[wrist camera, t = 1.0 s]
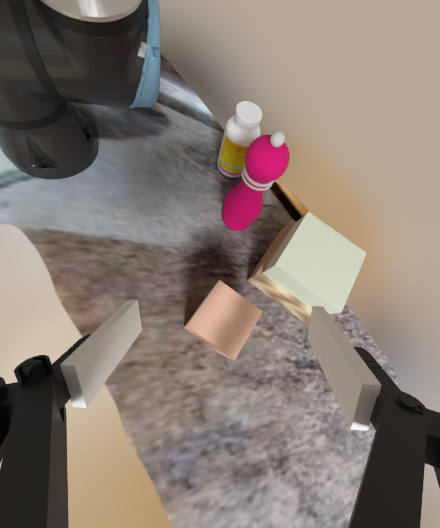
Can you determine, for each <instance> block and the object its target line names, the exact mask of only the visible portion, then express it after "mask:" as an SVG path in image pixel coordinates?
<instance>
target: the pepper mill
mask: <svg viewBox="0 0 440 528" xmlns="http://www.w3.org/2000/svg"><path fill="white" fill-rule="evenodd" d="M284 140H285V135H284V133H283V132H282V131H275V132H273V134H272V135H263V136H260V137H258V138H256V139H255V140H254V141H253V142H252V143H251V144H250V145H249V147H248V149H247V151H246V155H245V166H244V168H243V170H242V178H243V179H242V181H241V182H240V183H239V184H237V185H236V186H234V187H233V188H232V189H231V190H230V191H229V192H228V193H227V195H226V197H225V199H224V204H223V207H224V209H223V212H222V219H223V222H224V223H225V225H226V226H227V227H229V228H230V229H232V230H236V231H241V230H244V229H246V228H247V227H248V226H249V225H250V223H251V222H253V221H255V220H256V219H257V218H258V216H259V214H260V212H261V210H262V204H263V199H262V194H263V192H264V190H267V189H269V188H270V187H271V186H272V184H273V182H274V181H275V180H276V179H278V178H279V177H280V176H282V174H283V173H284V172H285V170H286V168H287V166H288V163H289V150H288V147H287V146H286V144H285V143H284Z"/></svg>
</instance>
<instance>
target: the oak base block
mask: <svg viewBox="0 0 440 528" xmlns="http://www.w3.org/2000/svg"><path fill="white" fill-rule="evenodd" d="M295 223H296V221H294V220H293V219H291V220H290V221H289V222H288V223H287V224H286V225H285V226H284V227H283V228H282V229H281V230H280V232H279V233H278V235H277V236H276V238H275V239H274V241H273V242H272V244H271V245H270V247H269V248H268V250H267V251H266V253H265V254H264V256H263V257H262V259H261V261H260V262H259V264H258V265H257V267H256V268H255V270H254V271H253V273H252V274H251V276H250V277H249V279H248V280H247V281H249V282H250V283H252V284H253V285H254V286H256V287H257V288H258V289H260V290H261V291H263V292H264V293H265V294H267V295H268V296H269V297H271V298H272V299H274V300H275V301H276V302H278V303H279V304H280V305H282V306H283V307H285V308H286V309H287V310H289V311H290V312H291V313H293V314H294V315H296V316H297V317H298V318H300V319H301V320H302V321H304V322H305V323H307V324H310V317H311V310H312V309H311V308H309V307H308V306H307V305H305V304H304V303H303V302H301V301H300V300H298V299H297V298H296V297H294V296H293V295H292V294H290V293H289V292H287V291H286V290H285V289H283V288H282V287H281V286H279V285H278V284H276V283H275V282H274V281H272V280H271V279H269V278H268V277H267V276H265V275H264V274H263V272H264V270H265V269H266V267H267V266H268V264H269V262H270V261H271V259H272V258H273V256H274V255H275V253H276V251H277V250H278V248H279V247H280V245H281V244H282V242H283V240H284V239H285V237H286V236H287V234H288V233H289V231H290V229H291V228H292V226H293V225H294V224H295Z"/></svg>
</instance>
